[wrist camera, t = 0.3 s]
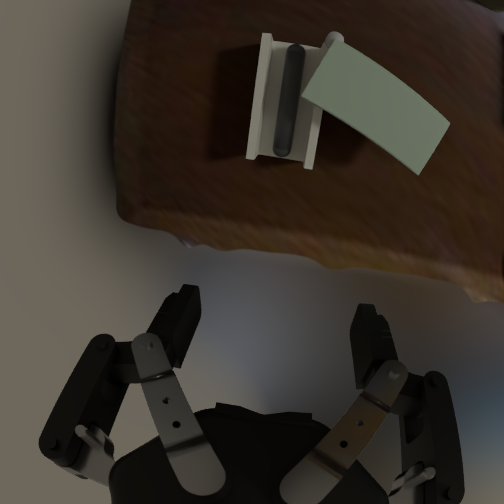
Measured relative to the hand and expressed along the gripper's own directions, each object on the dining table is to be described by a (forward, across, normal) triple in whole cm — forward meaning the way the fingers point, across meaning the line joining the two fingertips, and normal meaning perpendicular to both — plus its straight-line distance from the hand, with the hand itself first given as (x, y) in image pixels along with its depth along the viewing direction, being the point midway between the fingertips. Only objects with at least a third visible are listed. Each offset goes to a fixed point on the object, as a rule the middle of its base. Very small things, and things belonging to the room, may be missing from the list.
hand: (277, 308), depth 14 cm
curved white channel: (+28, +1, -10) cm, 30 cm away
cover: (+23, -9, -11) cm, 27 cm away
